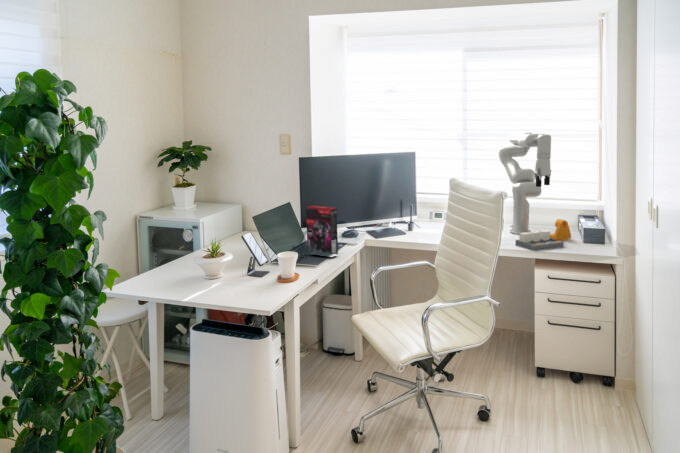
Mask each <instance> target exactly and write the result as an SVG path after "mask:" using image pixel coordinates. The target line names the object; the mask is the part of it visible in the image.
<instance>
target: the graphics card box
mask: <svg viewBox="0 0 680 453" xmlns="http://www.w3.org/2000/svg"><path fill="white" fill-rule="evenodd" d="M305 219H306V220H305V221H306V248H308V249H312V250H316V251H320V252H325V253H329V254H338V255H339V244H338V238H339V237H338V208H337V207H330V206H322V205H321V206H320V205H309V206H307V207H305Z"/></svg>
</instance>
